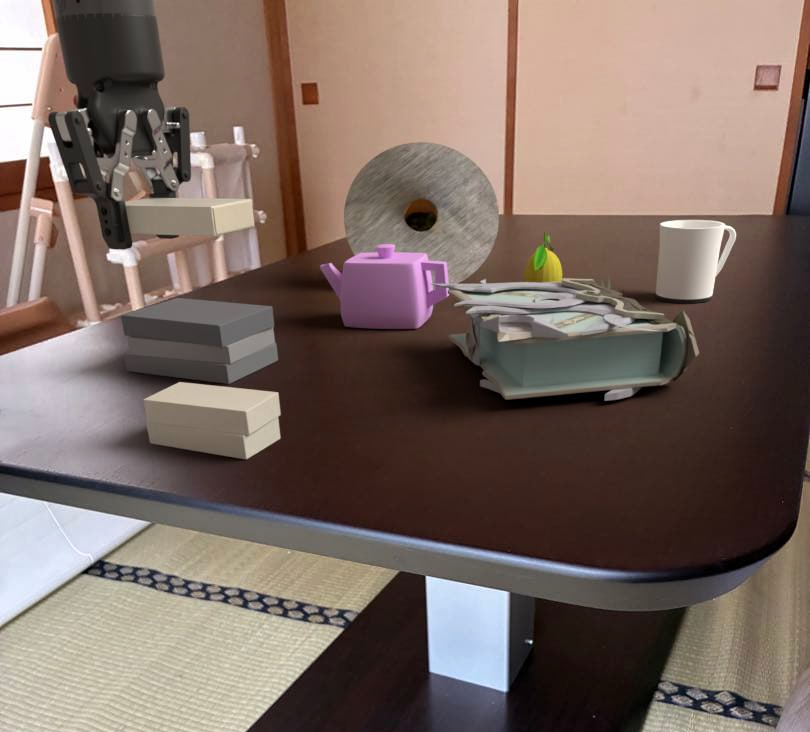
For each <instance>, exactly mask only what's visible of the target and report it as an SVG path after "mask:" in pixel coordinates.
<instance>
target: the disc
mask: <svg viewBox="0 0 810 732" xmlns="http://www.w3.org/2000/svg"><path fill="white" fill-rule="evenodd" d="M344 202H345V203H344V206H343V207H344V209H343V226H344V232H345V237H346V240H347V242H348V246H349V247H350V249H351V251H352V253H353V255H354V256H356V255H358V254H360V253H368V252H377V250H376V246H377V245H381V244H393V245H395V250H394V252H407V253H426V254H427V257H428V260H429V261H443V262H447V270H448V281H449V284H461V282H463V281H465V280H466V279H468V278H469V277H470V276H472V275H473V274H474V273H475V272H477V270H479V268H480V267H481V266H482V265H483V264H484V263H485V262H486V260H487V258H488V257H489V255H490V253H491V251H492V249H493V247H494V246H495V242H496V239H497V236H498V232H499V225H500V222H499V221H500V216H499V215H500V213H499V205H498V199H497V196H496V192H495V190H494V187H493V185H492V183H491V181H490V180H489V178H488V176H487V175H486V174H485V172H484V171H483V170H482V169H481V168H480V166H479V165H478V164H477V163H476V162H474V160H472V159H471V158H470V157H468V156H467V155H465V154H463V153H462V152H460V151H458V150H456V149H454V148H451V147H449V146H446V145H444V144H438V143H434V142H427V141H426V142H425V141H419V142H417V141H415V142H408V143H402V144H399V145H396V146H393V147H390V148H388V149H386V150H384V151H382V152H380V153H379V154H377V155H376V156H373V158H371V159H370V160H369V161H368V162H367V163H365V164H364V166H363V167H361V169H360V170H359V172H358V173H357V175H356V176H355V177H354V179H353V181H352V182H351V184H350V187H349V188H348V191H347V194H346V198H345V201H344ZM430 271H431V277H432V284H435V270H430ZM434 289H435V285H433V290H434Z"/></svg>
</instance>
